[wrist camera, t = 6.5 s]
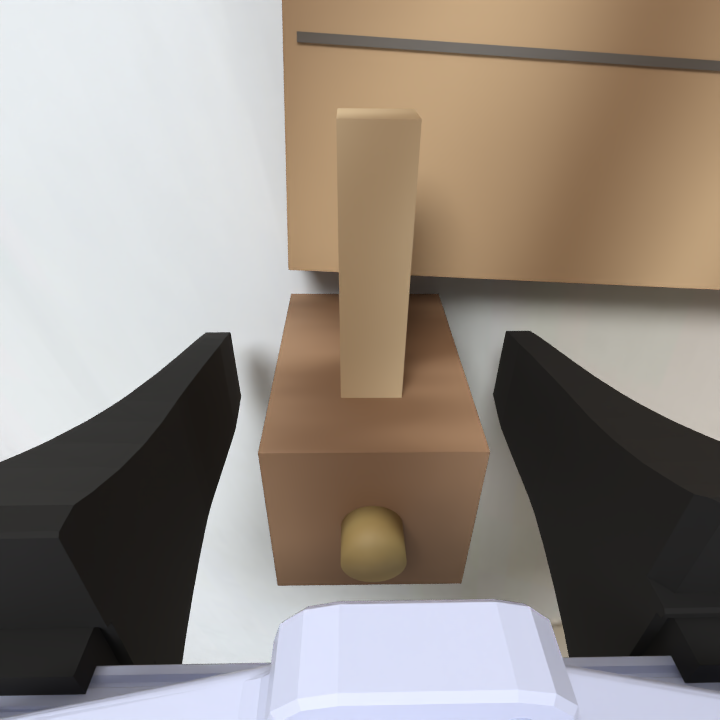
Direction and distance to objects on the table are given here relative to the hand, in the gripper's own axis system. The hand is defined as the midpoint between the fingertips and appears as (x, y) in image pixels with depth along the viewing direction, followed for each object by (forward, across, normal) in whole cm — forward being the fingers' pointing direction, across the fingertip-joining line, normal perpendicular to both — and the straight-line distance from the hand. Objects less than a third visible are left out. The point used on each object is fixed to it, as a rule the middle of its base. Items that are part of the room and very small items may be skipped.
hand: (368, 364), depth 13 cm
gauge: (+2, 0, -2) cm, 2 cm away
